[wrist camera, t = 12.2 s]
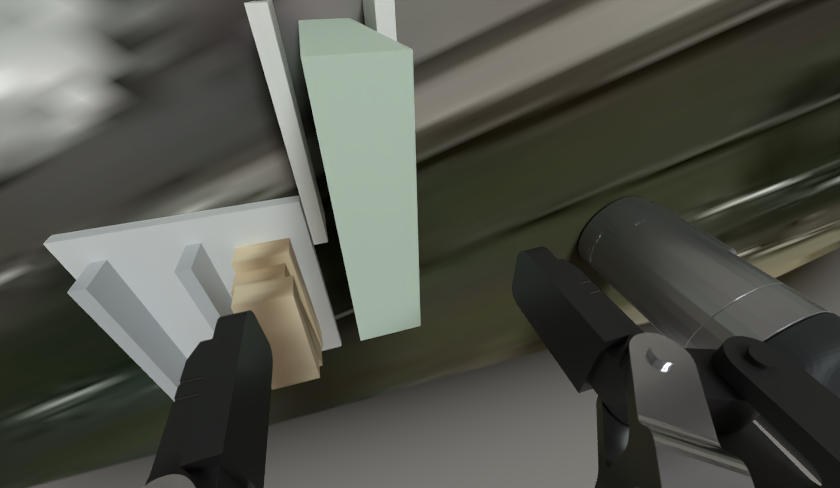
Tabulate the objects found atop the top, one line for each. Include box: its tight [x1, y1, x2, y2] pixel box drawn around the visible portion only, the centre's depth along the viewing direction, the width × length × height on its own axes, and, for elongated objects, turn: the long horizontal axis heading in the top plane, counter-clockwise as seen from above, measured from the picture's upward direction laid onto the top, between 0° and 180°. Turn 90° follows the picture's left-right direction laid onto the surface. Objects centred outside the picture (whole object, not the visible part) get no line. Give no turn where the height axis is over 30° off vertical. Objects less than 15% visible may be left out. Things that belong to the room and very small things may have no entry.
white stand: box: [244, 0, 397, 245], centre depth 22 cm, size 7×14×4 cm, turn 2°
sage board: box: [298, 18, 420, 341], centre depth 18 cm, size 3×12×14 cm, turn 1°
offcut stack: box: [231, 238, 323, 390], centre depth 27 cm, size 4×12×6 cm, turn 2°
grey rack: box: [43, 195, 342, 402], centre depth 28 cm, size 16×18×4 cm
